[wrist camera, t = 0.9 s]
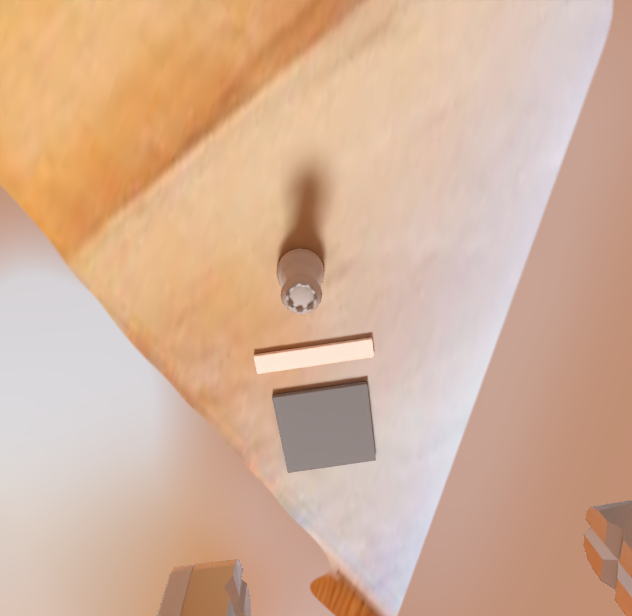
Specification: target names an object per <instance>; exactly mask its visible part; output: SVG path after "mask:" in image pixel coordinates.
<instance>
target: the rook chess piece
mask: <svg viewBox="0 0 632 616" xmlns="http://www.w3.org/2000/svg"><path fill="white" fill-rule="evenodd" d="M277 277H278V281H279V284H280V285H281V287H282V290H281V299H282V302H283V304H284V305H285V307H286V308H287V309H288V310H290V311H292V312H294V313H297V314H305V313H309V312H311V311H313V310H314V309H316V308H317V307H318V305H319V303H320V302H321V298H322V291H321V287H320V286H321V284H322V282H323V278H324V267H323V263H322V261H321V259H320V258H319V257H318V255H317V254H315V253H314V252H312V251H310V250H308V249H301V248H298V249H294V250H290V251H289V252H287V253H286V254H285V255H283V256H282V258H281V260H280V261H279V263H278V266H277Z"/></svg>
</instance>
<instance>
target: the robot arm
mask: <svg viewBox="0 0 632 616" xmlns="http://www.w3.org/2000/svg"><path fill="white" fill-rule="evenodd" d="M586 521H587V522H588V524H589V525H590V526H591V527H590V528H589V529H588V531H587V532H586V533H585V534H584V549H585V552H586V556H587V559H588V561H589V563H590V565H591V567H592V569H593V570H594V572H595V573H596V575H597V576H598V578H599V579H600V580H601V581H602V582H604V583H606V584H607V585H609V586H610V587H612V588H613V589H615V601H616V603H617V604H618V605H619V607H620V608H621V610H622V611H623V612H624V614H625V615H626V616H632V501H624V502H618V503H612V504H606V505H600V506H594V507H590V508H589V509H588V510H587V512H586ZM242 573H243V568H242V565H241V562H240V560H238V559H236V560H227V561H219V562H211V563H202V564H194V565H187V566H179V567H174V569H173V570H172V572H171V573H170V575H169V579H168V582H167V585H166V588H165V591H164V595H163V598H162V601H161V604H160V608H159V611H158V614H157V616H251V614H250V613H251V609H250V595H249V590H248V586H247V583H245V582H244V581H243V580H242Z"/></svg>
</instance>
